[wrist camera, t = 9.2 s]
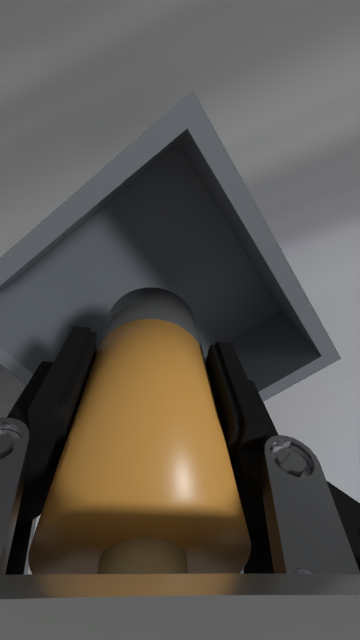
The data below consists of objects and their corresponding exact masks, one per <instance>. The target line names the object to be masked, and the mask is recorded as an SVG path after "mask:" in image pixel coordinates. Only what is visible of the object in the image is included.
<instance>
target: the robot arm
mask: <svg viewBox="0 0 360 640" xmlns="http://www.w3.org/2000/svg"><path fill="white" fill-rule="evenodd" d="M96 341H97V333H96V332H91V328H88V327H78V326H74V327H73V328H72V330H71V332H70V334H69V335H68V337H67V339H66V341H65V343H64V345H63V346H62V348H61V350H60V352H59V354H58V356H57V357H56V359H55V361H54V362H49V361H43V362H41V363H40V365H39V366H38V368H37V369H36V371H35V373H34V374H33V376H32V377H31V379H30V381H29V382H28V384H27V386H26V387H25V389H24V390H23V392H22V394H21V395H20V397H19V399H18V400H17V402H16V403H15V405H14V407H13V408H12V410H11V412H10V413H9V415H8V416H7V418H0V640H360V503H358V502H357V501H355V500H354V499H352V498H351V497H350V496H348V495H347V494H345V493H344V492H342V491H341V490H339V489H338V488H336V487H335V486H333V485H332V484H331V483H329V482H328V481H326V479H325V476H324V473H323V471H322V468H321V465H320V463H319V461H318V459H317V457H316V455H315V454H314V453H313V452H312V451H311V450H310V449H309V448H308V447H307V446H306V445H304V444H303V443H302V442H300V441H298V440H296V439H294V438H291V437H288V436H282V435H278V433H277V431H276V429H275V427H274V425H273V422H272V420H271V418H270V416H269V414H268V412H267V409H266V407H265V405H264V403H263V401H262V399H261V397H260V394H259V392H258V390H257V388H256V386H255V384H254V382H253V381H252V380H248V378H247V376H246V374H245V371H244V369H243V367H242V364H241V362H240V360H239V358H238V355H237V353H236V351H235V349H234V346H233V344H232V343H228V342H218V341H216V343H215V345H210V347H209V350H208V354H207V358H206V362H205V364H206V368H207V372H208V376H209V379H210V383H211V387H212V391H213V395H214V399H215V403H216V407H217V411H218V415H219V419H220V423H221V427H222V430H223V434H224V438H225V442H226V446H227V450H228V454H229V458H230V462H231V466H232V470H233V474H234V477H235V481H236V485H237V489H238V493H239V497H240V501H241V505H242V509H243V513H244V517H245V521H246V525H247V528H248V532H249V536H250V541H251V552H250V556H249V559H248V561H247V563H246V565H245V567H244V568H243V570H242V571H241V572H240V573H239V574H33V575H27V574H28V567H29V562H28V553H29V549H30V546H31V543H32V540H33V536H34V530H35V524H36V517H38V516H39V515H40V514H41V513H42V510H43V507H44V504H45V501H46V499H47V496H48V493H49V490H50V487H51V484H52V481H53V478H54V475H55V472H56V469H57V466H58V463H59V460H60V457H61V454H62V452H63V449H64V446H65V443H66V440H67V437H68V434H69V431H70V428H71V425H72V422H73V420H74V417H75V414H76V411H77V408H78V405H79V402H80V399H81V396H82V393H83V390H84V387H85V384H86V381H87V378H88V375H89V372H90V369H91V367H92V364H93V361H94V358H95V355H96Z"/></svg>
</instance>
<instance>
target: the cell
mask: <svg viewBox="0 0 360 640" xmlns="http://www.w3.org/2000/svg"><path fill="white" fill-rule="evenodd" d="M250 552H251V541H250V536H249V532H248V528H247V525H246V521H245V517H244V513H243V509H242V505H241V501H240V497H239V493H238V489H237V485H236V481H235V477H234V474H233V470H232V466H231V462H230V458H229V454H228V450H227V446H226V442H225V438H224V434H223V430H222V427H221V423H220V419H219V415H218V411H217V407H216V403H215V399H214V395H213V391H212V387H211V383H210V379H209V376H208V372H207V368H206V364H205V359H204V354H203V350H202V346H201V342H200V338H199V334H198V330H197V327H196V323H195V319H194V316H193V313H192V311H191V309H190V307H189V306H188V304H187V303H186V302H185V301H184V300H183V299H182V298H181V297H179V296H178V295H176V294H175V293H173V292H171V291H168V290H165V289H161V288H154V287H147V288H140V289H136V290H133V291H131V292H129V293H127V294H125V295H124V296H122V297H121V298H120V299H119V300H118V301H117V302H116V303H115V304H114V305H113V307H112V308H111V310H110V312H109V315H108V318H107V321H106V324H105V327H104V329H103V332H102V335H101V338H100V341H99V344H98V347H97V350H96V355H95V358H94V361H93V364H92V367H91V369H90V372H89V375H88V378H87V381H86V384H85V387H84V390H83V393H82V396H81V399H80V402H79V405H78V408H77V411H76V414H75V417H74V420H73V422H72V425H71V428H70V431H69V434H68V437H67V440H66V443H65V446H64V449H63V452H62V454H61V457H60V460H59V463H58V466H57V469H56V472H55V475H54V478H53V481H52V484H51V487H50V490H49V493H48V496H47V499H46V501H45V504H44V507H43V510H42V513H41V516H40V519H39V522H38V525H37V528H36V531H35V534H34V537H33V540H32V543H31V546H30V549H29V553H28V562H29V566H30V570H31V571H32V574H239V573H240V572H241V571H242V570H243V568H244V567H245V565H246V563H247V561H248V559H249V556H250Z"/></svg>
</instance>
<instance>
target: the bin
mask: <svg viewBox="0 0 360 640" xmlns="http://www.w3.org/2000/svg"><path fill="white" fill-rule="evenodd" d="M147 287H154V288H161V289H165V290H168V291H171V292H173V293H175V294H176V295H178V296H179V297H181V298H182V299H183V300H184V301H185V302H186V303H187V304H188V306H189V307H190V309H191V311H192V313H193V316H194V319H195V323H196V327H197V330H198V334H199V338H200V342H201V346H202V350H203V354H204V359H205V362H206V358H207V354H208V350H209V347H210V345H215V343H216V341H218V342H228V343H232V344H233V346H234V349H235V351H236V353H237V355H238V358H239V360H240V362H241V364H242V367H243V369H244V371H245V374H246V376H247V378H248V380H252V381H253V382H254V384H255V386H256V388H257V390H258V392H259V394H260V397H261V399H262V401H265V400H267V399H269V398H271V397H272V396H274V395H276V394H278V393H280V392H281V391H283V390H285V389H287V388H289V387H290V386H292V385H294V384H296V383H298V382H299V381H301V380H303V379H305V378H307V377H308V376H310V375H312V374H314V373H316V372H317V371H319V370H321V369H323V368H325V367H326V366H328V365H330V364H332V363H334V362H335V361H337V360H339V359H341V357H340V356H339V354H338V352H337V350H336V348H335V347H334V345H333V343H332V341H331V339H330V337H329V336H328V334H327V332H326V330H325V328H324V327H323V325H322V323H321V321H320V319H319V318H318V316H317V314H316V312H315V310H314V309H313V307H312V305H311V303H310V301H309V300H308V298H307V296H306V294H305V292H304V290H303V289H302V287H301V285H300V283H299V281H298V280H297V278H296V276H295V274H294V272H293V271H292V269H291V267H290V265H289V263H288V262H287V260H286V258H285V256H284V254H283V252H282V251H281V249H280V247H279V245H278V243H277V242H276V240H275V238H274V236H273V234H272V233H271V231H270V229H269V227H268V225H267V224H266V222H265V220H264V218H263V216H262V214H261V213H260V211H259V209H258V207H257V205H256V204H255V202H254V200H253V198H252V196H251V195H250V193H249V191H248V189H247V187H246V186H245V184H244V182H243V180H242V178H241V176H240V175H239V173H238V171H237V169H236V167H235V166H234V164H233V162H232V160H231V158H230V157H229V155H228V153H227V151H226V149H225V148H224V146H223V144H222V142H221V140H220V139H219V137H218V135H217V133H216V131H215V129H214V128H213V126H212V124H211V122H210V120H209V119H208V117H207V115H206V113H205V111H204V110H203V108H202V106H201V104H200V102H199V101H198V99H197V97H196V95H195V93H194V91H193V90H192V91H191V92H190V93H189V94H188V95H187V96H186V97H184V98H183V99H182V100H181V101H180V102H179V103H178V104H176V105H175V106H174V107H173V108H172V109H171V110H170V111H168V112H167V113H166V114H165V115H164V116H163V117H161V118H160V119H159V120H158V121H157V122H156V123H155V124H153V125H152V126H151V127H150V128H149V129H148V130H147V131H145V132H144V133H143V134H142V135H141V136H140V137H139V138H137V139H136V140H135V141H134V142H133V143H132V144H130V145H129V146H128V147H127V148H126V149H125V150H124V151H122V152H121V153H120V154H119V155H118V156H117V157H116V158H114V159H113V160H112V161H111V162H110V163H109V164H108V165H106V166H105V167H104V168H103V169H102V170H101V171H99V172H98V173H97V174H96V175H95V176H94V177H93V178H91V179H90V180H89V181H88V182H87V183H86V184H85V185H83V186H82V187H81V188H80V189H79V190H78V191H77V192H75V193H74V194H73V195H72V196H71V197H70V198H68V199H67V200H66V201H65V202H64V203H63V204H62V205H60V206H59V207H58V208H57V209H56V210H55V211H54V212H52V213H51V214H50V215H49V216H48V217H47V218H46V219H44V220H43V221H42V222H41V223H40V224H39V225H37V226H36V227H35V228H34V229H33V230H32V231H31V232H29V233H28V234H27V235H26V236H25V237H24V238H23V239H21V240H20V241H19V242H18V243H17V244H16V245H15V246H13V247H12V248H11V249H10V250H9V251H8V252H6V253H5V254H4V255H3V256H2V257H1V258H0V364H1V365H2V366H3V367H4V368H6V369H7V370H8V371H10V372H11V373H12V374H13V375H15V376H16V377H17V378H18V379H20V380H21V381H22V382H23V383H25V384H26V385H27V384H28V382H29V381H30V379H31V377H32V376H33V374H34V373H35V371H36V369H37V368H38V366H39V365H40V363H41V362H43V361H49V362H54V361H55V359H56V357H57V356H58V354H59V352H60V350H61V348H62V346H63V345H64V343H65V341H66V339H67V337H68V335H69V334H70V332H71V330H72V328H73V327H74V326H78V327H88V328H91V332H96V333H97V341H96V350H97V347H98V344H99V341H100V338H101V335H102V332H103V329H104V327H105V324H106V321H107V318H108V315H109V312H110V310H111V308H112V307H113V305H114V304H115V303H116V302H117V301H118V300H119V299H120V298H121V297H122V296H124V295H125V294H127V293H129V292H131V291H133V290H136V289H140V288H147Z"/></svg>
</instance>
